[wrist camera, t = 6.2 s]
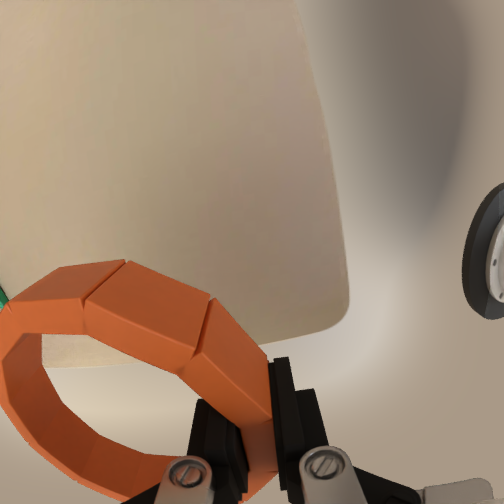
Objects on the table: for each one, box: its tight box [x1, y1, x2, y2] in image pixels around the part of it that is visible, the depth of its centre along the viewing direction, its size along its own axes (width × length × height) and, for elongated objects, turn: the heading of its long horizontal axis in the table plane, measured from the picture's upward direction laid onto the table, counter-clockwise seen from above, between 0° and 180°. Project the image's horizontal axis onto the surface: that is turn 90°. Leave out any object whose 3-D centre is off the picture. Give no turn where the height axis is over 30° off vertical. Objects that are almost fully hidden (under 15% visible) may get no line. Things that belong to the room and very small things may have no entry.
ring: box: [0, 259, 278, 504], centre depth 9 cm, size 11×11×3 cm
